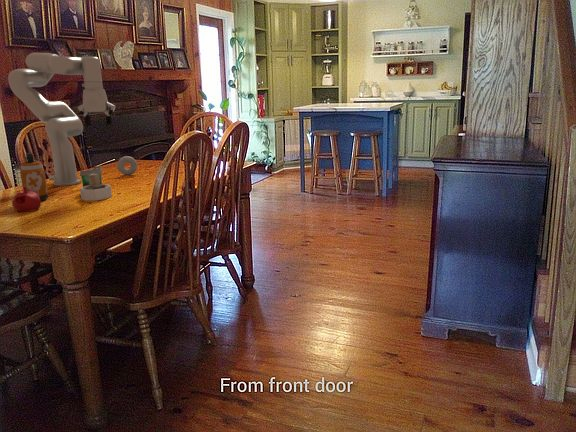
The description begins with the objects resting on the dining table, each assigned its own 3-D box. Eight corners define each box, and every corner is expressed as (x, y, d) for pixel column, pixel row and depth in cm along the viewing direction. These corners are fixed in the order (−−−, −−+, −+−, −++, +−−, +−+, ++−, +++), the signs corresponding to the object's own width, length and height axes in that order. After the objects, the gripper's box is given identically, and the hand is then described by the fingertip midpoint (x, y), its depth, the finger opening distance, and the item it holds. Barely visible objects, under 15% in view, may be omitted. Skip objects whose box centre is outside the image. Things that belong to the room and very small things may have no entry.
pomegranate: (35, 205, 198) (31, 182, 196) (46, 208, 192) (43, 185, 189) (9, 210, 191) (4, 187, 188) (20, 214, 185) (16, 190, 182)
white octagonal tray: (77, 200, 204) (75, 190, 202) (90, 194, 215) (89, 184, 213) (103, 200, 202) (101, 189, 201) (115, 194, 213) (114, 184, 212)
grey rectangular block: (91, 196, 207) (88, 175, 205) (95, 194, 210) (92, 173, 208) (98, 196, 207) (95, 175, 204) (101, 194, 210) (99, 173, 207)
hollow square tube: (86, 197, 206) (85, 187, 205) (93, 194, 211) (92, 184, 210) (99, 197, 205) (98, 187, 204) (105, 194, 211) (104, 184, 210)
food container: (95, 193, 216) (92, 171, 214) (82, 193, 217) (79, 171, 215) (110, 187, 228) (107, 166, 225) (98, 187, 229) (95, 166, 226)
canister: (25, 203, 202) (16, 154, 196) (25, 198, 211) (16, 151, 206) (49, 200, 206) (41, 152, 200) (48, 195, 215) (40, 149, 210)
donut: (138, 173, 261) (136, 155, 259) (138, 174, 258) (136, 155, 256) (118, 175, 258) (116, 156, 256) (118, 176, 255) (116, 157, 252)
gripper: (70, 86, 216) (76, 126, 220) (108, 85, 214) (113, 125, 218) (79, 86, 223) (84, 125, 227) (116, 85, 221) (120, 124, 225)
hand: (98, 125), depth 223 cm, fingers open, 9 cm apart
